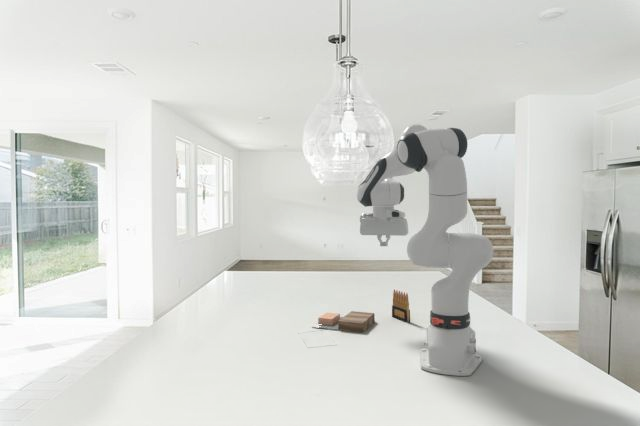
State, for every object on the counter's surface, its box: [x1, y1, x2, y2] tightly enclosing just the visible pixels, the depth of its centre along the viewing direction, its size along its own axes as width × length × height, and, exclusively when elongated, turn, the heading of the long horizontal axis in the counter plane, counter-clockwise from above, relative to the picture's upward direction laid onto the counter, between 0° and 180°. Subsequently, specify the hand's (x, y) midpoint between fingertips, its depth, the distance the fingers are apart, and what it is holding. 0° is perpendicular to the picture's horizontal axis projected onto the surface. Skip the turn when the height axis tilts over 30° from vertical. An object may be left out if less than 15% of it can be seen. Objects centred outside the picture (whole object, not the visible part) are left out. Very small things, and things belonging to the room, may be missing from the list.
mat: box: [318, 316, 344, 331], centre depth 171 cm, size 18×11×1 cm, turn 157°
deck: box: [338, 310, 376, 333], centre depth 167 cm, size 16×10×4 cm, turn 157°
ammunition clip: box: [391, 289, 411, 324], centre depth 175 cm, size 11×2×12 cm, turn 24°
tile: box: [317, 312, 341, 325], centre depth 172 cm, size 9×6×2 cm, turn 157°
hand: (383, 246), depth 174 cm, fingers closed
